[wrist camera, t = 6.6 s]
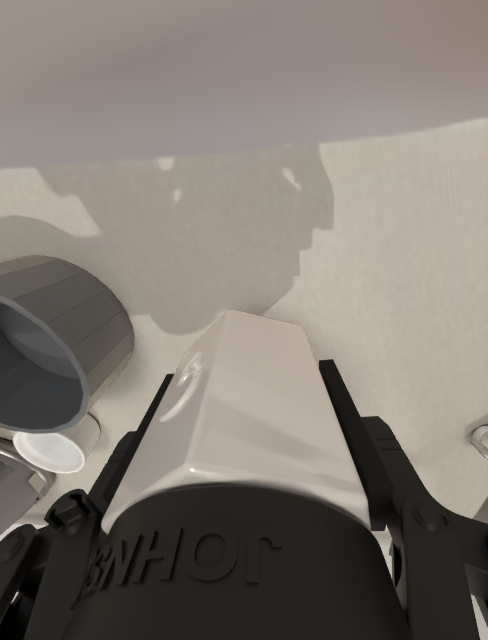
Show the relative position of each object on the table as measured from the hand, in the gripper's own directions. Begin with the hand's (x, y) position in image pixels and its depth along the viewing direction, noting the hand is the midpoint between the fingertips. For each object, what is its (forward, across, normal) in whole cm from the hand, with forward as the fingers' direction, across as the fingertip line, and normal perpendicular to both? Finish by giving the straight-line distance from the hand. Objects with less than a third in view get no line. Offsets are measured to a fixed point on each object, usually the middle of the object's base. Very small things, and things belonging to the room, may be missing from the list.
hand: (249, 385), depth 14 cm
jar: (+2, 0, 0) cm, 2 cm away
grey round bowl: (+10, -21, +1) cm, 23 cm away
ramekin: (+11, -28, -14) cm, 33 cm away
